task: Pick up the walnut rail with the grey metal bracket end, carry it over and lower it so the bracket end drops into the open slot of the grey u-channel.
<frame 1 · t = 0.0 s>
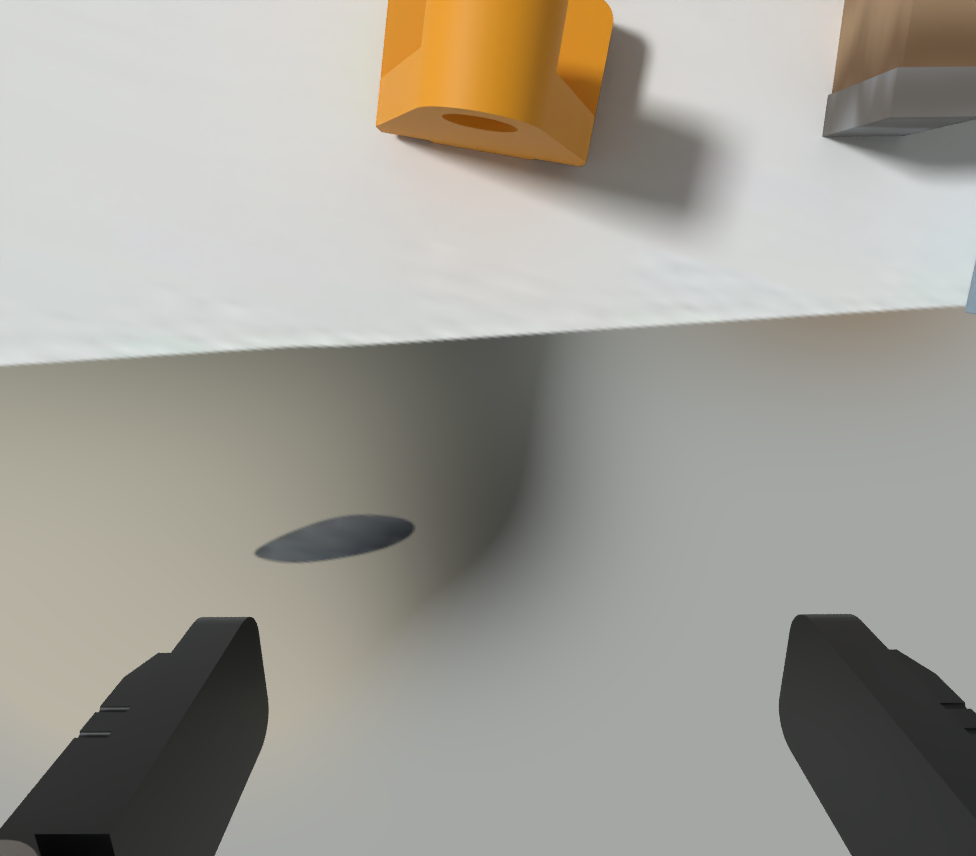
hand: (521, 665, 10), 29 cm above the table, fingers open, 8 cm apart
bracket: (493, 78, 34), on the table
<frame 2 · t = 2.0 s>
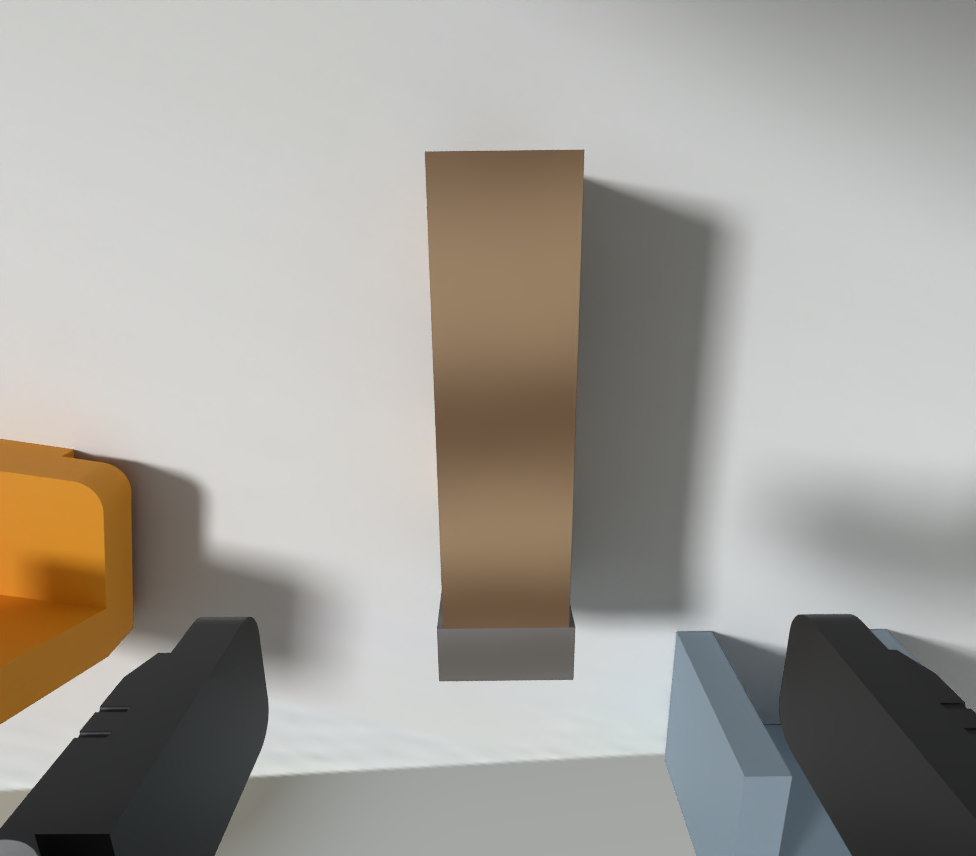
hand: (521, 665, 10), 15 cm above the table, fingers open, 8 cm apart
grey u-channel: (771, 697, 28), on the table
bracket: (11, 519, 26), on the table
rail: (501, 397, 24), on the table
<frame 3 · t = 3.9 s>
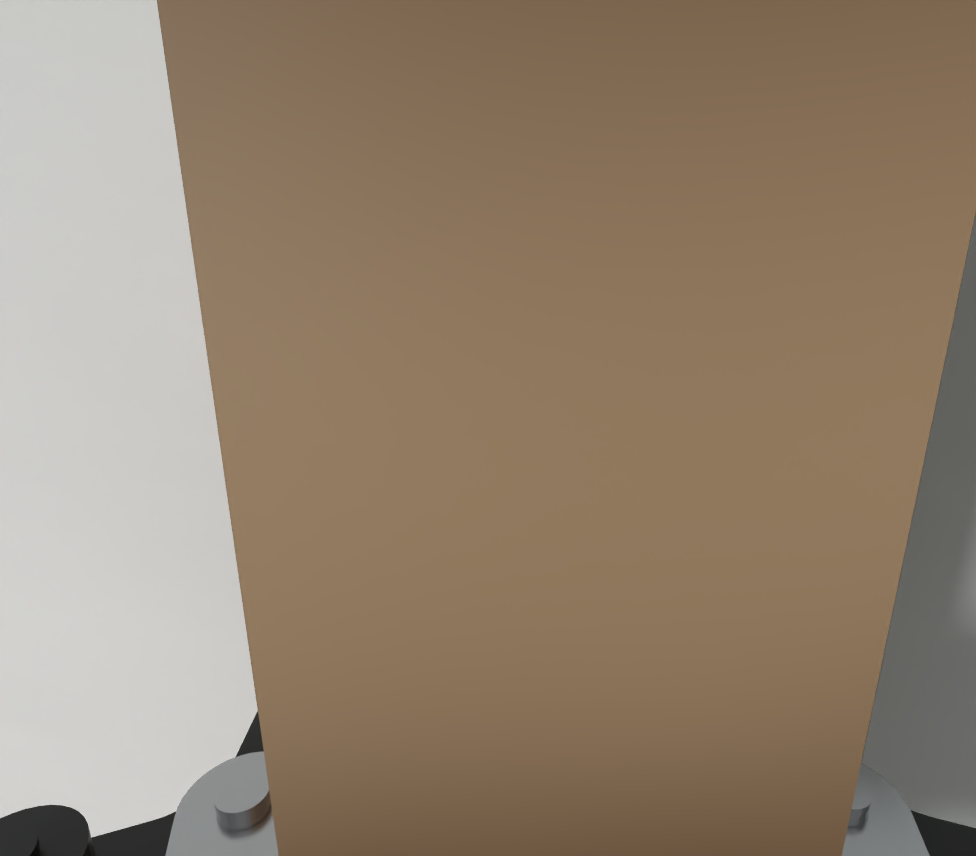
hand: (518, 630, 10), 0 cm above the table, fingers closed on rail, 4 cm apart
rail: (519, 613, 11), on the table, touching gripper
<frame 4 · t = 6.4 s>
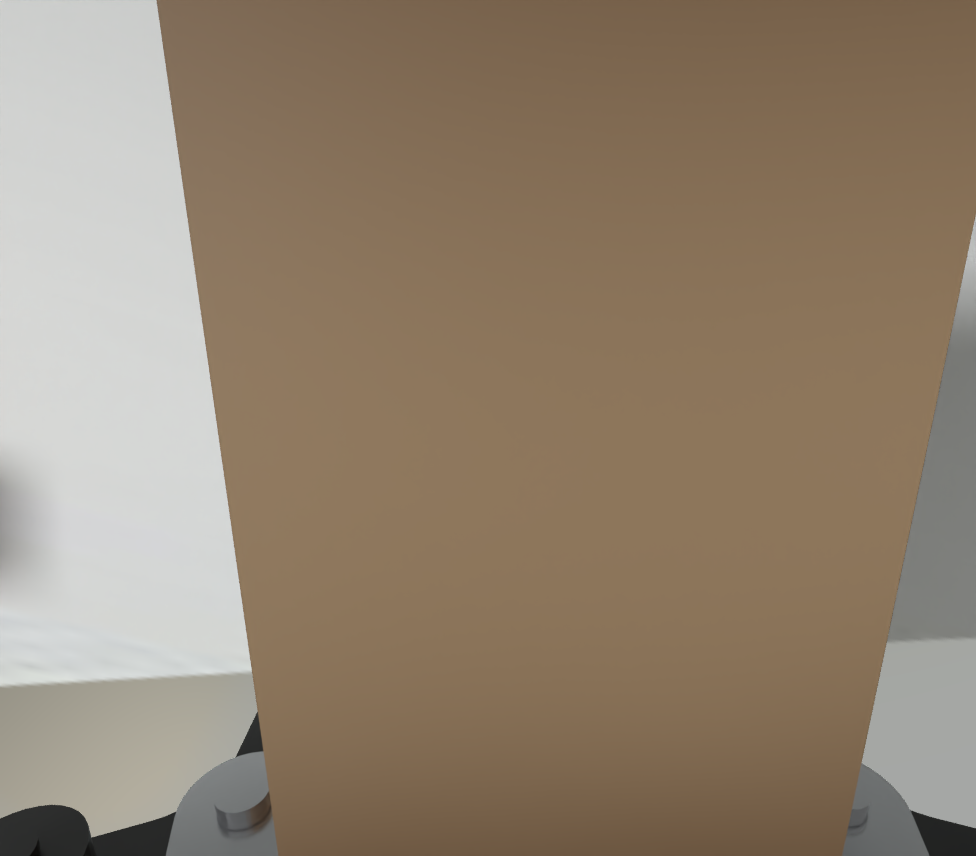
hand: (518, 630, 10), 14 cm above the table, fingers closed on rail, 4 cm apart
rail: (519, 616, 11), point 14 cm above the table, touching gripper
when the fingers open (1 cm above the table, at t = 8.9 s): rail stays where it is, resting in grey u-channel.
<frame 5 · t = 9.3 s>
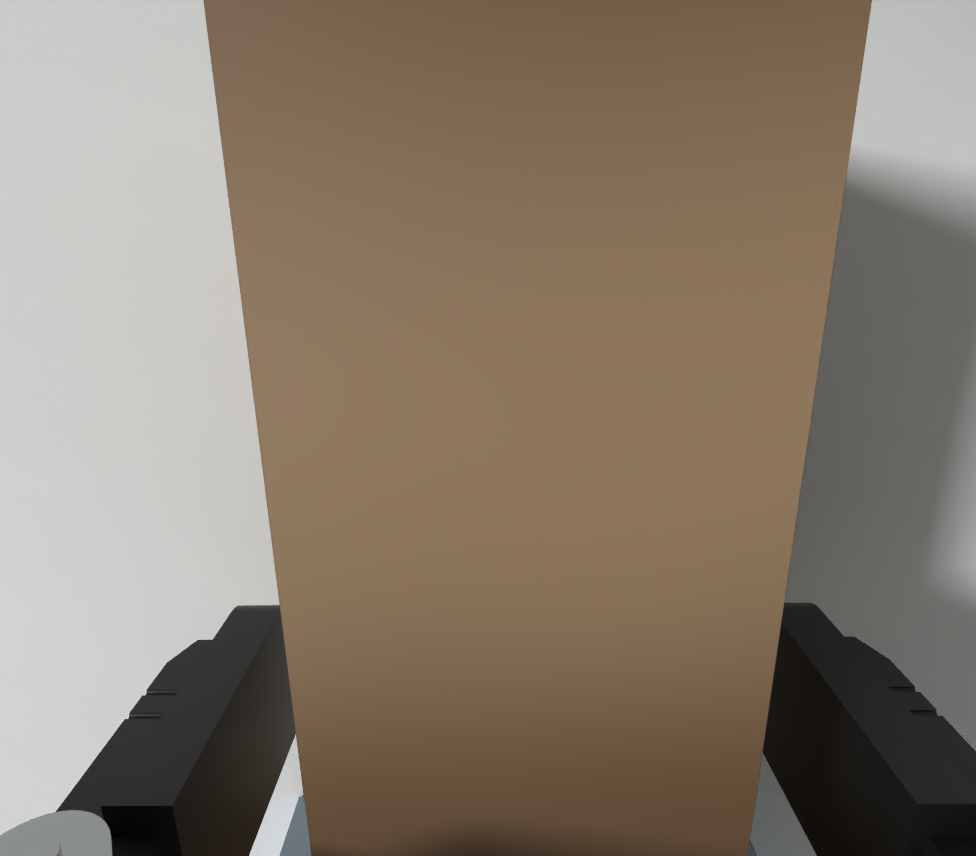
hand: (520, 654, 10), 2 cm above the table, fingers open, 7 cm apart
rail: (508, 583, 12), resting in grey u-channel
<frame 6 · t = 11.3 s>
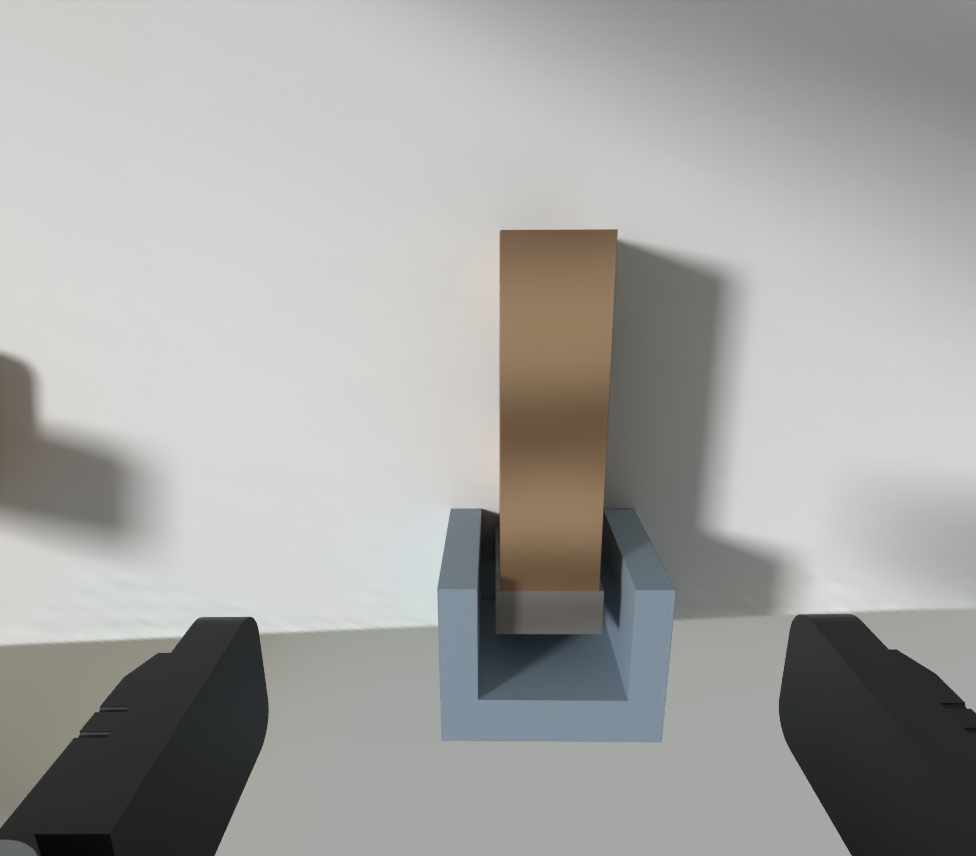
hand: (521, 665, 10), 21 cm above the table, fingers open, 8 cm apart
grey u-channel: (540, 572, 32), on the table
rail: (542, 410, 30), resting in grey u-channel
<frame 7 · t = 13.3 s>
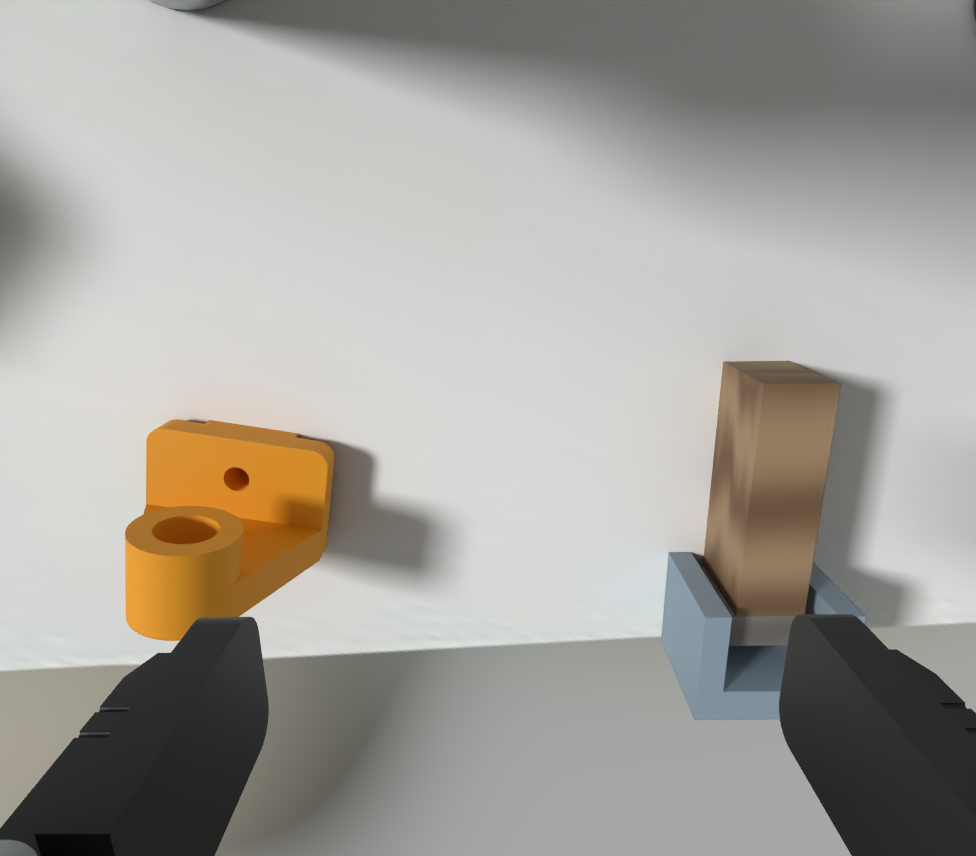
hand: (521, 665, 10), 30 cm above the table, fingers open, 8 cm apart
grey u-channel: (730, 597, 44), on the table
bracket: (252, 477, 41), on the table
rail: (742, 482, 41), resting in grey u-channel
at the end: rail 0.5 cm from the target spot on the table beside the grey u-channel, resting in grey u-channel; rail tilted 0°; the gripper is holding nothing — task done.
